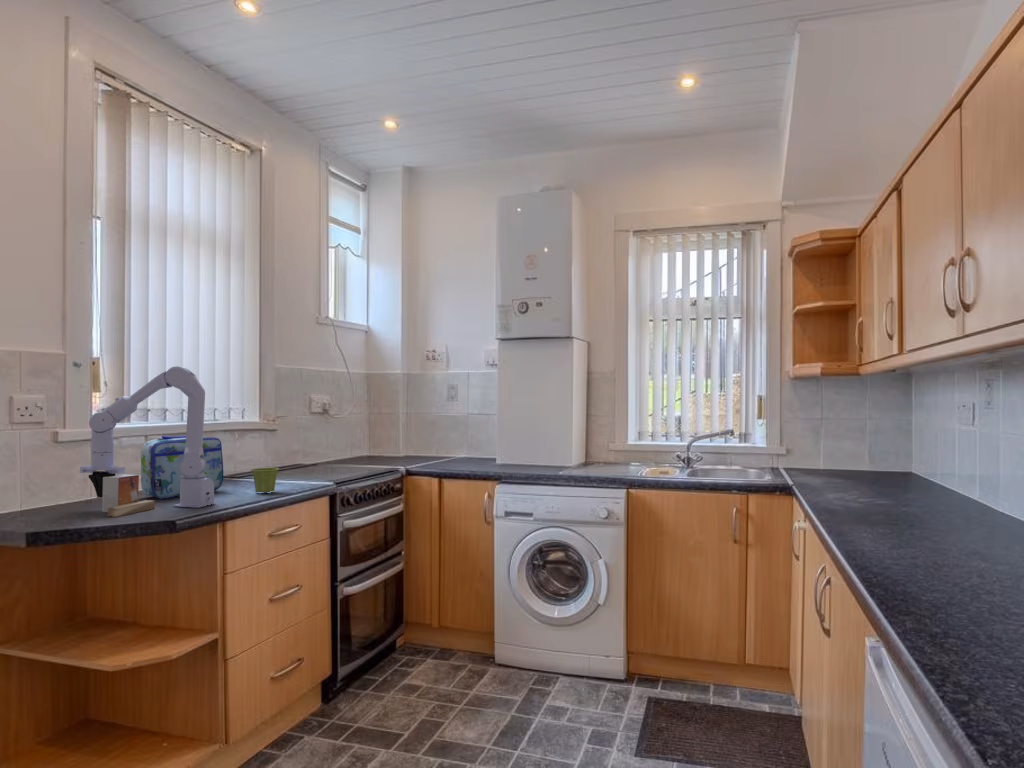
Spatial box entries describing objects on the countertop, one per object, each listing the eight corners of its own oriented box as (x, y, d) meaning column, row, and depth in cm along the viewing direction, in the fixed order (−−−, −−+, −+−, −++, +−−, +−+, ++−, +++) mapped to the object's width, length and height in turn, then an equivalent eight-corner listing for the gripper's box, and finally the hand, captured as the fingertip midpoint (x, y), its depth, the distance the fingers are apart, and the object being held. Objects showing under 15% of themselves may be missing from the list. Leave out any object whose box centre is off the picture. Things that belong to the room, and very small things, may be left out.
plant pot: (244, 494, 225) (245, 469, 225) (264, 490, 234) (264, 467, 234) (265, 495, 221) (265, 470, 222) (284, 492, 230) (284, 468, 230)
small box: (117, 513, 187) (118, 477, 187) (101, 512, 188) (102, 476, 188) (138, 508, 194) (139, 474, 195) (123, 507, 196) (124, 473, 196)
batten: (154, 508, 194) (154, 500, 194) (116, 516, 181) (116, 508, 181) (146, 508, 195) (146, 500, 195) (107, 516, 181) (107, 507, 181)
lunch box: (152, 501, 209) (153, 437, 209) (136, 498, 215) (137, 436, 215) (226, 491, 230) (227, 434, 231) (209, 489, 236) (210, 433, 237)
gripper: (71, 452, 191) (70, 498, 191) (111, 453, 188) (110, 499, 187) (91, 450, 198) (90, 494, 197) (130, 451, 194) (129, 496, 194)
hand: (101, 496), depth 193 cm, fingers closed
